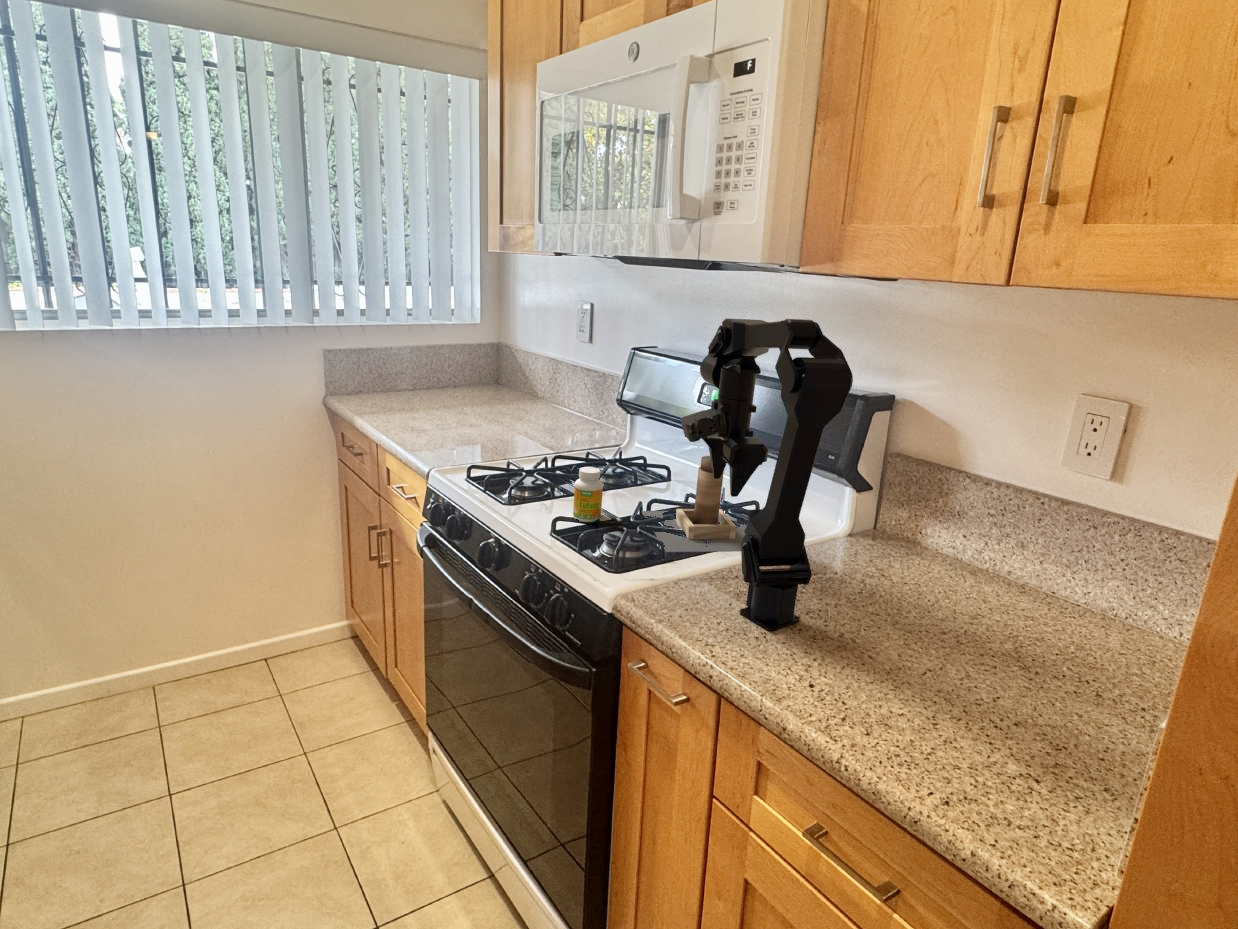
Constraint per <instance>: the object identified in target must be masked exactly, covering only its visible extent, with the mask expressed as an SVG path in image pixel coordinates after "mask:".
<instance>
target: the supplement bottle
mask: <svg viewBox="0 0 1238 929" xmlns="http://www.w3.org/2000/svg"><path fill="white" fill-rule="evenodd" d="M578 477H579V478H578V479H576V480H575V482H574V493H573V511H572V517H573V518H574V520H576V519H578V520H579V521H578V520H577V521H578V522H582V523H594V522H597V520H599V519H600V518H601V517H602V505H603V491H604V483H603V481H602V480H600V477H601V470H600V469H599V468H598V467H595V466H583V467H580V468H579V470H578Z"/></svg>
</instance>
